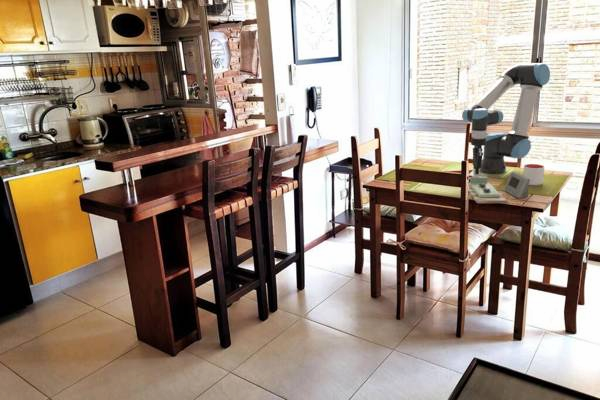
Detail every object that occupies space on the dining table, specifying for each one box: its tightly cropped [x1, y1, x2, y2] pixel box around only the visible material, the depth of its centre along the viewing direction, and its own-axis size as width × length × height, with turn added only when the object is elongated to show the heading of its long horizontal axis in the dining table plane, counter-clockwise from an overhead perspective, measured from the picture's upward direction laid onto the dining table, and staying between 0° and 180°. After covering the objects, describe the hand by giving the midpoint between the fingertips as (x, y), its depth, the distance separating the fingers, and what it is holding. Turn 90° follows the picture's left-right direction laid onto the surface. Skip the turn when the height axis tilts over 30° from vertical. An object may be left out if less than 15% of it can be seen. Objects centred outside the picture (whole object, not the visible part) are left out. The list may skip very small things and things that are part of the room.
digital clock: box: [503, 171, 530, 199], centre depth 233 cm, size 16×9×11 cm, turn 171°
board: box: [468, 183, 508, 204], centre depth 237 cm, size 29×14×4 cm, turn 173°
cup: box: [522, 163, 545, 187], centre depth 250 cm, size 10×10×10 cm
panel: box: [468, 176, 501, 197], centre depth 239 cm, size 22×10×4 cm, turn 173°
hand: (475, 179), depth 254 cm, fingers closed
